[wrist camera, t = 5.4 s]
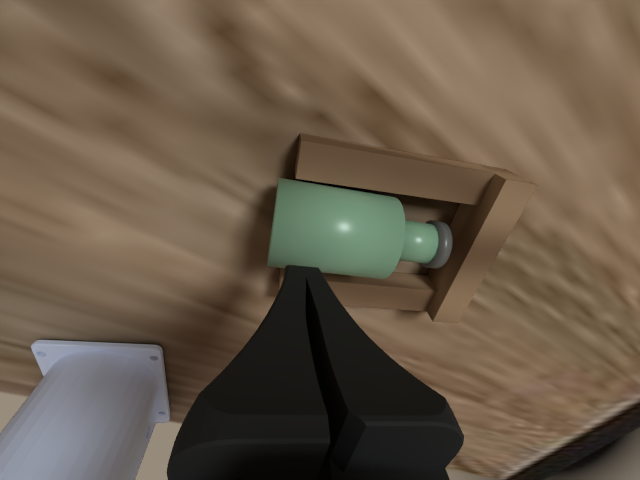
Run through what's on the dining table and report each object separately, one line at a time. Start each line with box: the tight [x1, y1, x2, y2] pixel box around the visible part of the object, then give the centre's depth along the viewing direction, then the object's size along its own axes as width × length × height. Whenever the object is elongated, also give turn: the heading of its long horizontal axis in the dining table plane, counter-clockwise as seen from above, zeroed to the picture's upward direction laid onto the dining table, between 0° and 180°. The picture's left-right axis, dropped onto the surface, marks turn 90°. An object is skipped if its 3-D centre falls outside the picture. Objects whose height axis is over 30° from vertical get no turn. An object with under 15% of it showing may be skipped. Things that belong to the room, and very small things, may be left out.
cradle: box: [278, 133, 538, 323], centre depth 17 cm, size 10×12×2 cm
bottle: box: [267, 178, 452, 279], centre depth 15 cm, size 4×4×9 cm
